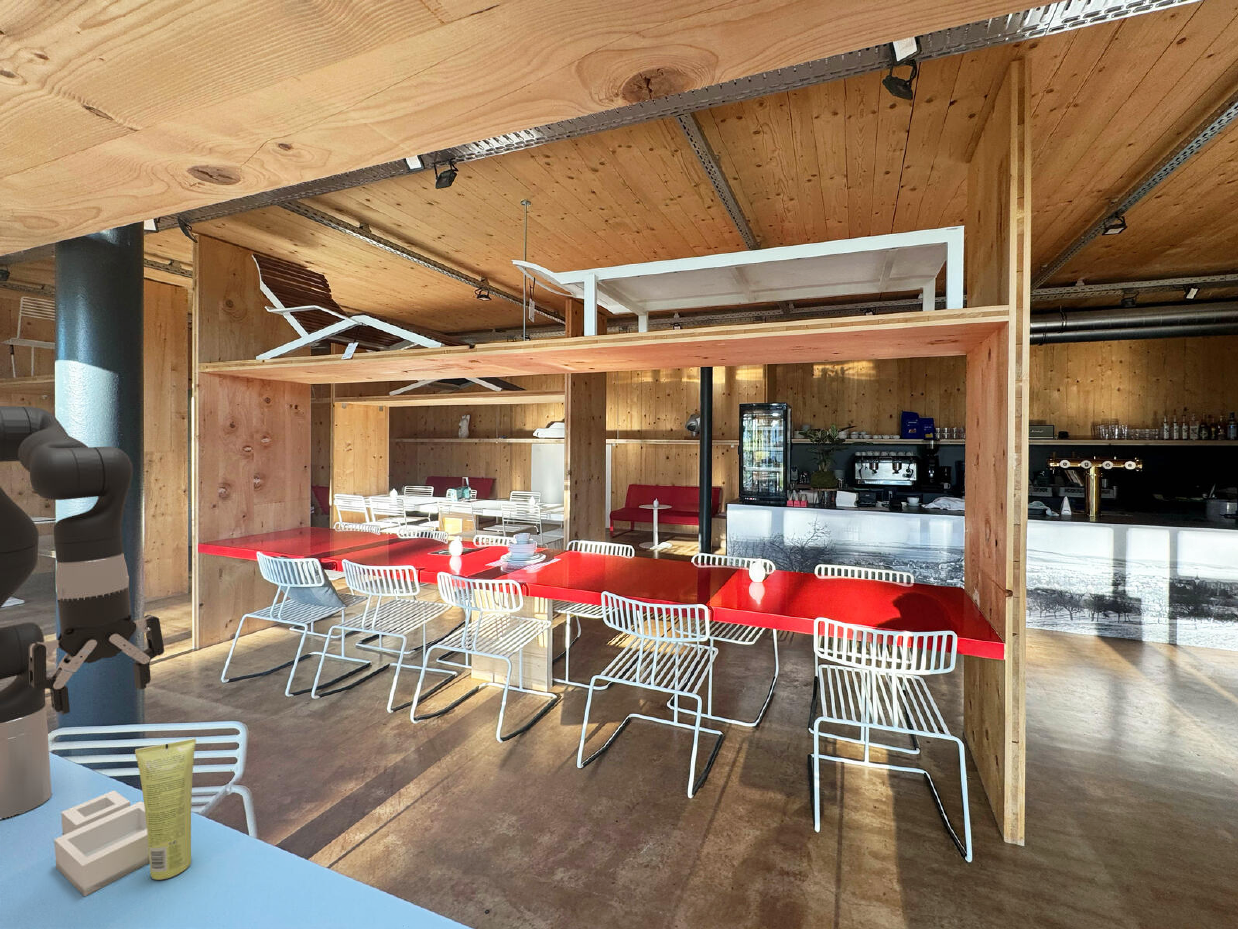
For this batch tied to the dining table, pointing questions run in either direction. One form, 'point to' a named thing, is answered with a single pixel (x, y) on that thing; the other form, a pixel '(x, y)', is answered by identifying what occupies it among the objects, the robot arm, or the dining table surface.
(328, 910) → the dining table surface
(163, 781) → the tube
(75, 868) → the endcap
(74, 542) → the robot arm
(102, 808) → the endcap
